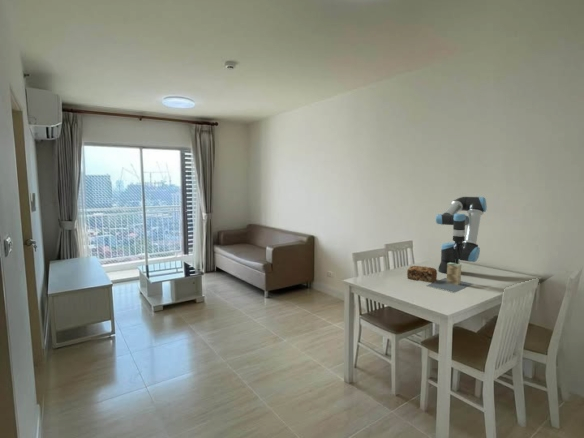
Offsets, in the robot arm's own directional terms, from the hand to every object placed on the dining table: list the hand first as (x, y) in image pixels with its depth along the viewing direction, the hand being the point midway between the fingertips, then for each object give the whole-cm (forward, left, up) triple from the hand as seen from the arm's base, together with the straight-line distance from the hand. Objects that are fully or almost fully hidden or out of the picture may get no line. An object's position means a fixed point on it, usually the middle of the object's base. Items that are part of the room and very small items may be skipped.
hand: (457, 268), depth 241 cm
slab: (0, -5, -10) cm, 11 cm away
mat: (0, -10, -11) cm, 15 cm away
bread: (-21, -12, -11) cm, 26 cm away
